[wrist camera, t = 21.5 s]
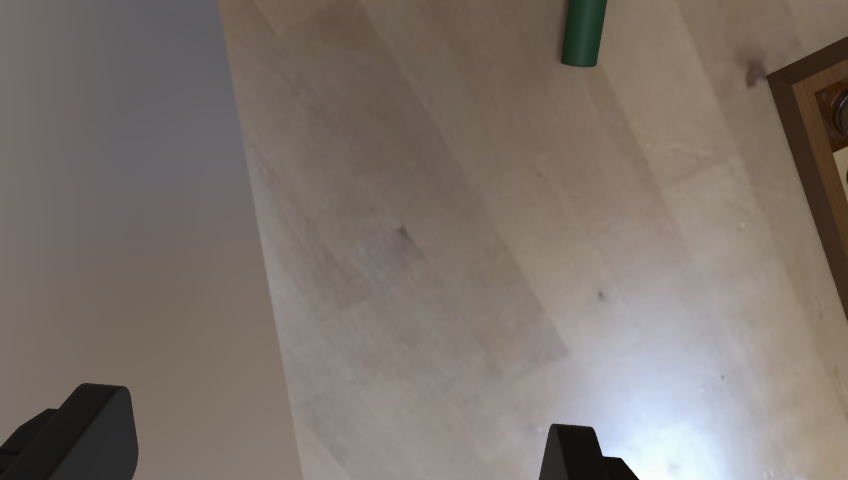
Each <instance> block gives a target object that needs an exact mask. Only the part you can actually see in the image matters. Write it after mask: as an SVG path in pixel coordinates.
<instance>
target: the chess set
mask: <svg viewBox="0 0 848 480" xmlns="http://www.w3.org/2000/svg"><path fill="white" fill-rule="evenodd" d="M767 79H768V82H769V85H770V88H771V91H772V94H773V97H774V100H775V103H776V106H777V109H778V112H779V115H780V118H781V121H782V124H783V127H784V130H785V133H786V136H787V139H788V142H789V145H790V148H791V151H792V154H793V157H794V160H795V163H796V166H797V169H798V172H799V175H800V178H801V181H802V184H803V187H804V190H805V193H806V196H807V199H808V202H809V205H810V208H811V211H812V214H813V217H814V220H815V223H816V226H817V229H818V232H819V235H820V238H821V241H822V244H823V247H824V250H825V253H826V256H827V259H828V262H829V265H830V269H831V272H832V275H833V278H834V281H835V284H836V287H837V290H838V293H839V296H840V299H841V302H842V305H843V308H844V311H845V314H846V317H847V320H848V37H846V38H844V39H842V40H840V41H838V42H836V43H834V44H832V45H830V46H828V47H826V48H824V49H822V50H820V51H817V52H815V53H813V54H811V55H809V56H807V57H805V58H803V59H801V60H799V61H797V62H795V63H793V64H791V65H789V66H787V67H785V68H782V69H780V70H778V71H776V72H774V73H772V74H770V75H768V76H767Z"/></svg>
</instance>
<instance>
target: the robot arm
mask: <svg viewBox="0 0 848 480" xmlns="http://www.w3.org/2000/svg"><path fill="white" fill-rule="evenodd" d="M137 461H138V443H137V436H136V429H135V422H134V416H133V409H132V402H131V396H130V392H129V390H128V389H127V388H126V387H124V386H115V385H103V384H91V383H84V384H81V385H80V386H78V387H77V388H76V389H75V390H74V392H73V393H72V394H71V395H70V396H69V397H68V398H67V400H66V401H65V402H64V403H63V404H62V406H61V407H60V408H59V409H46V410H45V411H43V412H42V413H40V414H39V415H37V416H35V417H34V418H32V419H31V420H29V421H28V422H26V423H24V424H23V425H21V426H20V427H19V428H18V429H17V430H16V431H15V432H14V433H13V434H12V435H11V436H10V437H9V438H8V439H7V441H6V442H5V443H4V444H3V445H2V446H1V447H0V480H132V478H133V476H134V473H135V470H136V466H137ZM539 480H639V479H638V477H637V476H636V475H635V474H634V473H633V472H632V470H631V469H630V468H629V467H628V466H627V465H626V463H625V462H624V461H623V460H622V459H621V458H616V457H604V456H603V455H602V452H601V449H600V446H599V443H598V440H597V436H596V433H595V431H594V429H593V428H592V427H588V426H577V425H565V424H552V425H551V427H550V429H549V433H548V438H547V443H546V448H545V452H544V457H543V462H542V467H541V472H540V477H539Z"/></svg>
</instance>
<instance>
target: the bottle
mask: <svg viewBox="0 0 848 480" xmlns="http://www.w3.org/2000/svg"><path fill="white" fill-rule="evenodd" d="M606 4H607V0H570V2H569V9H568V16H567V23H566V30H565V37H564V44H563V51H562V58H561V63H562V64H565V65H570V66H577V67H594V66H596V64H597V58H598V52H599V46H600V40H601V34H602V28H603V22H604V16H605V10H606Z"/></svg>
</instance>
